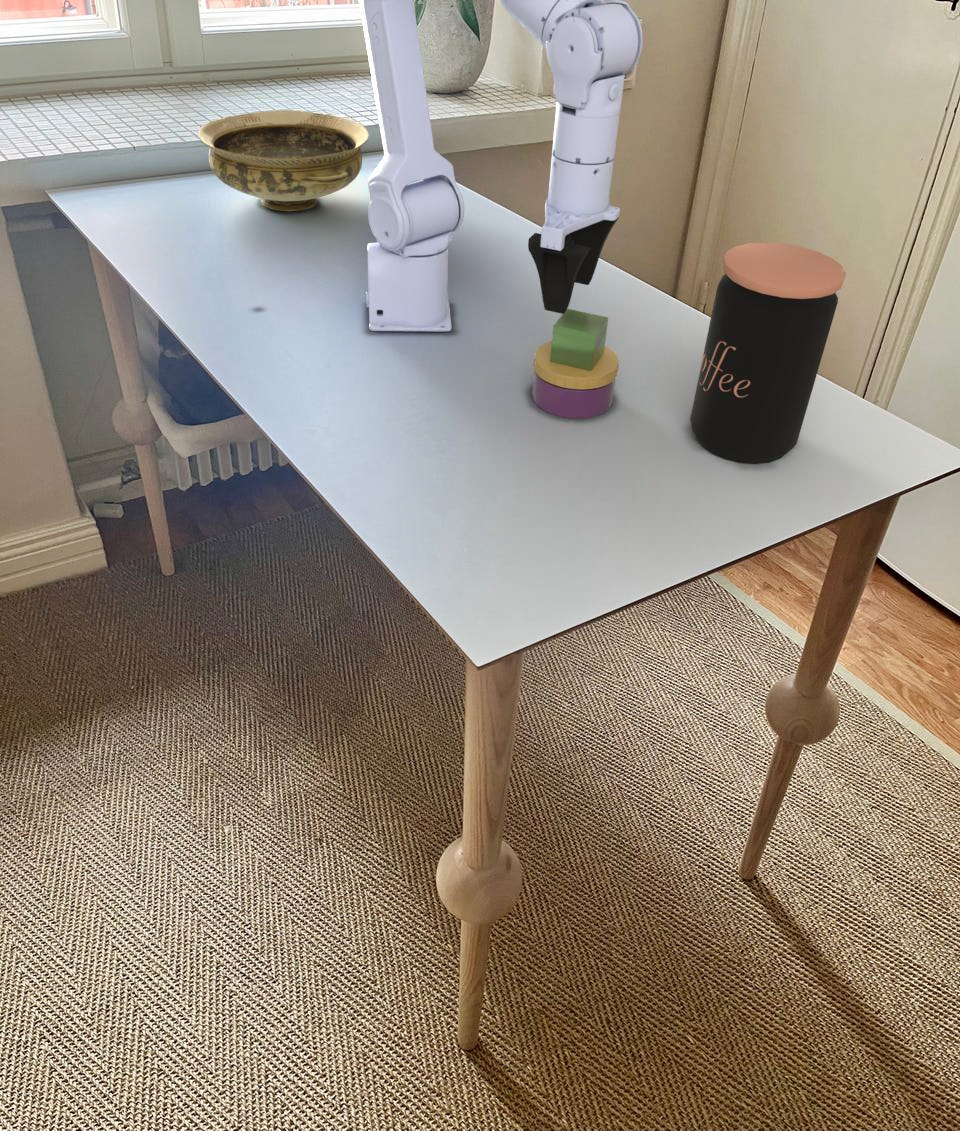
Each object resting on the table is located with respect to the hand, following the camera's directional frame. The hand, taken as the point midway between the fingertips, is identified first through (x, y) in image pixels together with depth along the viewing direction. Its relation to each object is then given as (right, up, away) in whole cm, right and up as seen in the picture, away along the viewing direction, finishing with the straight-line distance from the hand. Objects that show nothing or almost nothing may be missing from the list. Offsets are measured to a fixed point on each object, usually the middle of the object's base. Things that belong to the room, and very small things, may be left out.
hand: (567, 296), depth 98 cm
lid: (+1, -6, +2) cm, 7 cm away
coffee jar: (+17, -14, 0) cm, 23 cm away
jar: (+1, -9, +5) cm, 11 cm away
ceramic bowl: (-37, +27, +47) cm, 65 cm away
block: (+1, -6, +2) cm, 6 cm away
